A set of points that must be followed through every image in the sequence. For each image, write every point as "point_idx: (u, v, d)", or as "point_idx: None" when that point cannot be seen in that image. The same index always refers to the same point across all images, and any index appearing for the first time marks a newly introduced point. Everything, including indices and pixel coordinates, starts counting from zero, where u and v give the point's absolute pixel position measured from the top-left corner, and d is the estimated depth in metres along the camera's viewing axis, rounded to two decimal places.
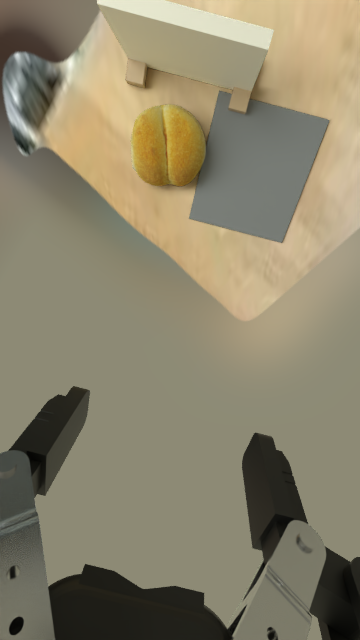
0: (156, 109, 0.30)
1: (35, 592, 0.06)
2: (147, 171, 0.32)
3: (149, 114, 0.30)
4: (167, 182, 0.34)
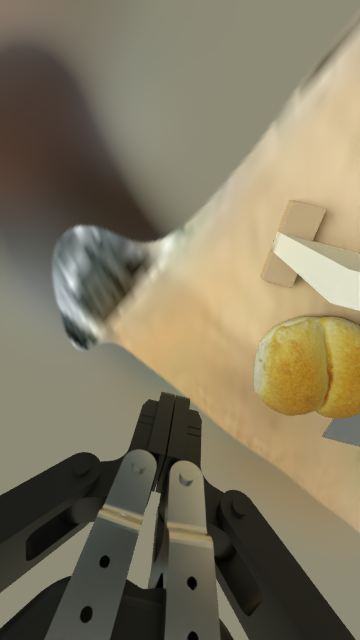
0: (315, 330, 0.18)
1: (109, 598, 0.06)
2: (286, 411, 0.20)
3: (307, 344, 0.18)
4: None
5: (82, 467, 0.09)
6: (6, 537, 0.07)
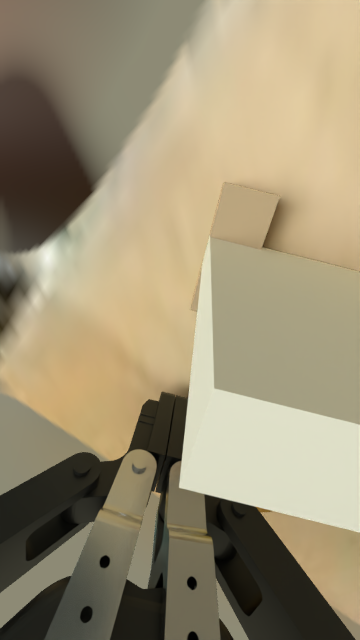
0: None
1: (109, 598, 0.06)
2: None
3: None
4: None
5: (82, 467, 0.09)
6: (6, 537, 0.07)
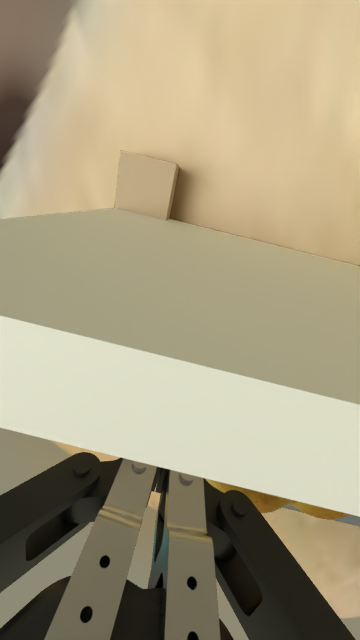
0: None
1: (109, 598, 0.06)
2: None
3: None
4: None
5: (82, 467, 0.09)
6: (6, 537, 0.07)
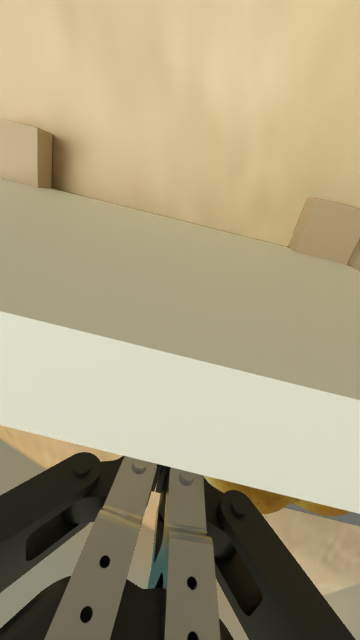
0: None
1: (109, 597, 0.06)
2: None
3: None
4: None
5: (82, 467, 0.09)
6: (6, 537, 0.07)
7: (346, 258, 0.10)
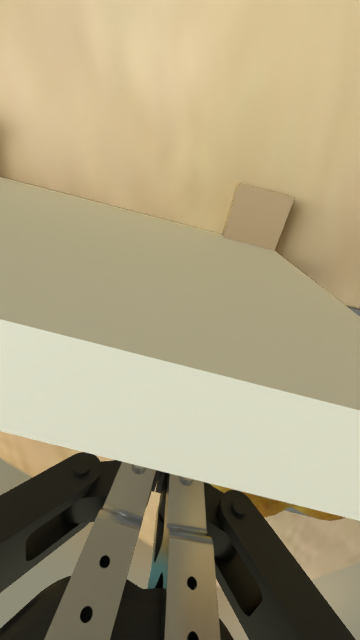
0: None
1: (110, 597, 0.06)
2: None
3: None
4: None
5: (82, 467, 0.09)
6: (6, 537, 0.07)
7: (274, 244, 0.10)
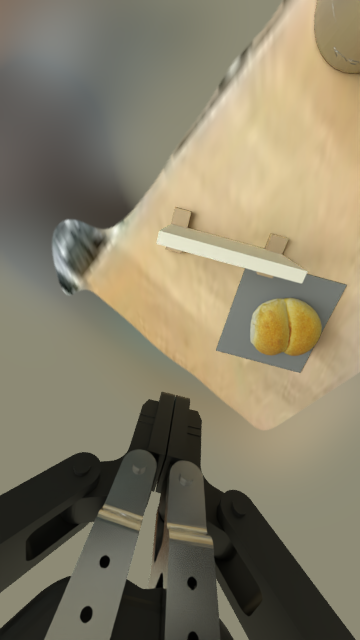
0: (281, 304, 0.34)
1: (109, 598, 0.06)
2: (268, 351, 0.36)
3: (277, 311, 0.34)
4: None
5: (82, 467, 0.09)
6: (6, 537, 0.07)
7: (282, 252, 0.33)
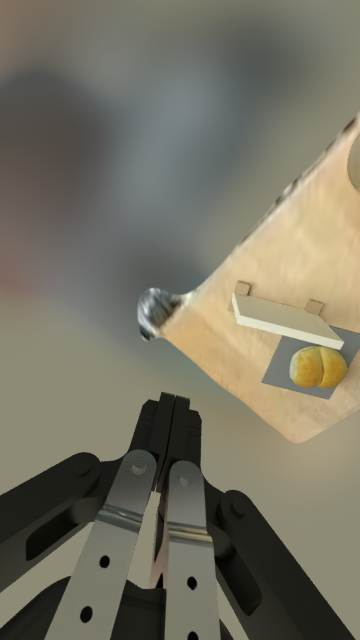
0: (316, 351, 0.45)
1: (109, 598, 0.06)
2: (305, 385, 0.46)
3: (313, 357, 0.44)
4: None
5: (82, 467, 0.09)
6: (6, 537, 0.07)
7: (318, 313, 0.43)
